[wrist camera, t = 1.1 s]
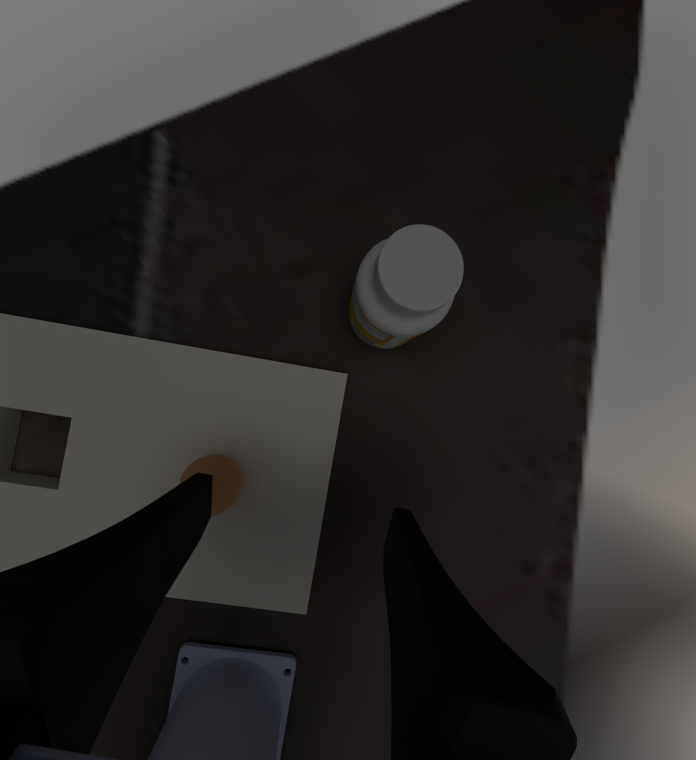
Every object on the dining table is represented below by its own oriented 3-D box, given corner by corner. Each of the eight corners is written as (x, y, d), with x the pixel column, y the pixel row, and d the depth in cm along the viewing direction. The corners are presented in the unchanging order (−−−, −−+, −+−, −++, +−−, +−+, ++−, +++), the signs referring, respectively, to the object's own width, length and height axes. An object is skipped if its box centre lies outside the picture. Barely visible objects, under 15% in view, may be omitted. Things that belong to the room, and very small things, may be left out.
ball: (242, 507, 22) (227, 531, 19) (188, 499, 22) (162, 521, 18) (252, 454, 22) (238, 467, 19) (197, 446, 22) (173, 457, 18)
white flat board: (345, 375, 25) (347, 374, 23) (307, 595, 24) (306, 614, 22) (-33, 309, 23) (-67, 301, 21) (-81, 545, 23) (-120, 560, 21)
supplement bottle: (420, 277, 25) (480, 210, 15) (419, 350, 25) (479, 328, 15) (347, 274, 25) (363, 204, 15) (346, 348, 25) (361, 324, 15)
